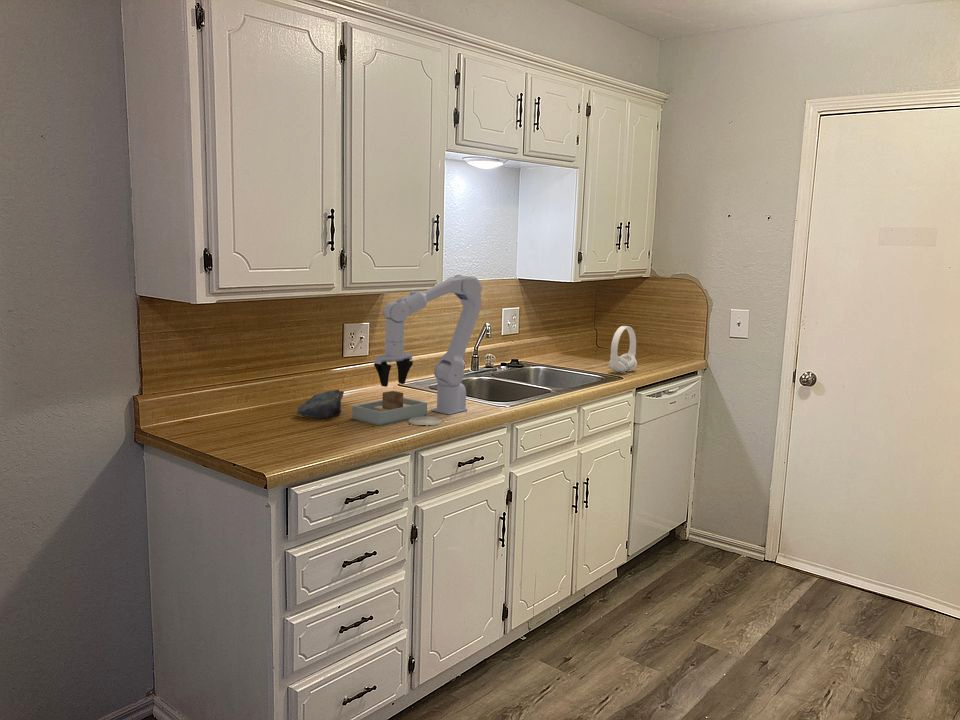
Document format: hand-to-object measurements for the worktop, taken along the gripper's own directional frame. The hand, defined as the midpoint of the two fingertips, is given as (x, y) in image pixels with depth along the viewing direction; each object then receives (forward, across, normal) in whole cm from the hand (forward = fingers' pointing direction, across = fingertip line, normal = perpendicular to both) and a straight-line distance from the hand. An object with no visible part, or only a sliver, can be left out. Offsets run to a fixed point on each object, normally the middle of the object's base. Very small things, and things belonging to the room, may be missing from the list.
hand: (393, 384), depth 240 cm
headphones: (+8, -128, +11) cm, 129 cm away
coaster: (+10, -2, +12) cm, 16 cm away
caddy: (+10, +1, 0) cm, 10 cm away
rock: (+11, +16, -14) cm, 24 cm away
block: (+8, 0, 0) cm, 8 cm away
